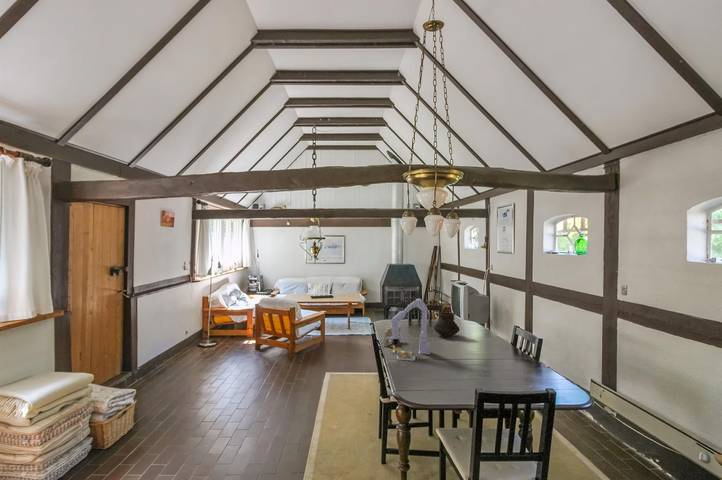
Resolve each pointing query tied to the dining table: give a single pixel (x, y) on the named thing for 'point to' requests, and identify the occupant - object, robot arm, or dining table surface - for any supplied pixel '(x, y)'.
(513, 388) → the dining table surface
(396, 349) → the ring nut
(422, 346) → the robot arm
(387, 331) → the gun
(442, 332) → the ceramic pot
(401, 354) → the maple spanner
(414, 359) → the peg rack
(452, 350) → the dining table surface
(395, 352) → the nut plinth
